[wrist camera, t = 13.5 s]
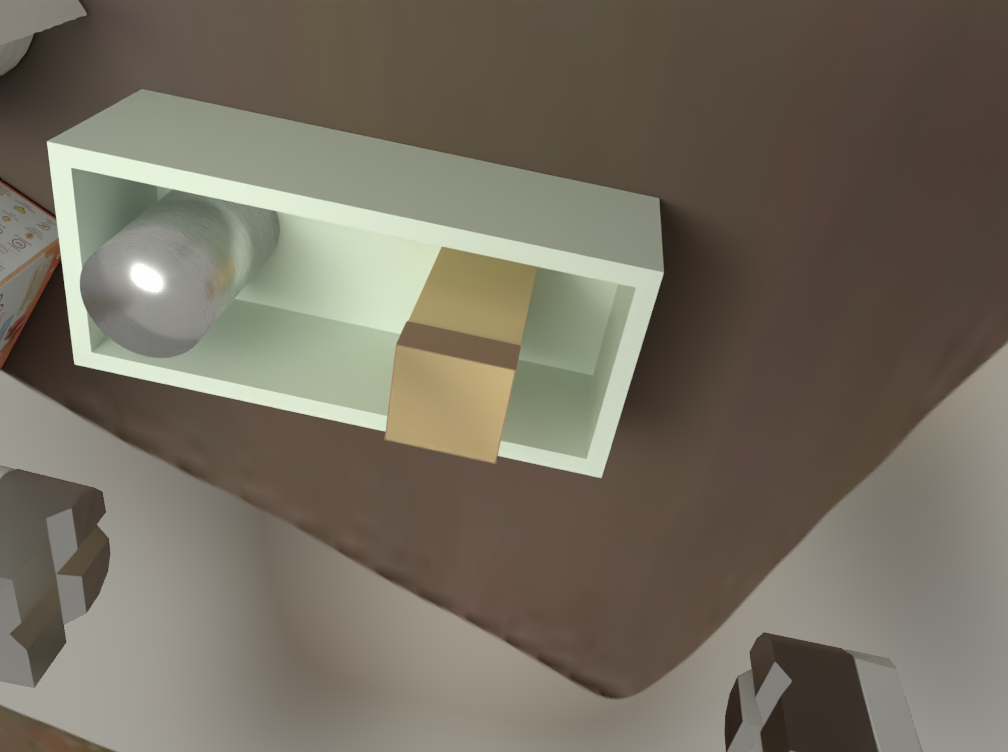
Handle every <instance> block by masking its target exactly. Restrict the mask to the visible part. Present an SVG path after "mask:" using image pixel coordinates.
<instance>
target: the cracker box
mask: <svg viewBox="0 0 1008 752" xmlns="http://www.w3.org/2000/svg"><path fill="white" fill-rule="evenodd" d="M60 259H61V252H60V244H59V236H58V228H57V219H56V218H55V217H54V216H52V215H51V214H49V213H48V212H46V211H45V210H43V209H42V208H41V207H39V206H38V205H36V204H35V203H33V202H32V201H30V200H29V199H27V198H26V197H25V196H23V195H22V194H20V193H18V192H17V191H16V190H14V189H13V188H11V187H10V186H8V185H7V184H5V183H4V182H2V181H1V180H0V370H1V368H2V366H3V364H4V362H5V360H6V359H7V357H8V355H9V353H10V351H11V349H12V348H13V346H14V344H15V342H16V340H17V338H18V337H19V335H20V333H21V331H22V329H23V327H24V325H25V323H26V322H27V320H28V318H29V316H30V314H31V313H32V311H33V309H34V307H35V305H36V303H37V302H38V300H39V298H40V296H41V294H42V292H43V291H44V289H45V287H46V285H47V283H48V281H49V279H50V278H51V276H52V274H53V272H54V270H55V268H56V267H57V265H58V263H59V261H60Z"/></svg>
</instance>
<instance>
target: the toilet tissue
mask: <svg viewBox="0 0 1008 752" xmlns="http://www.w3.org/2000/svg"><path fill="white" fill-rule="evenodd" d="M86 15H87V13H86V11H85V10H84V8H83V6H82V5H81V3H80V2H79V1H78V0H0V76H2V75H4V74H5V73H6V72H8V71H9V70H10V69H12V68H13V67H15V66H16V65H17V64H18V62H19V61H20V60H21V59H22V57H23V56H24V55H25V54H26V52H27V50H28V48H29V45H30V43H31V41H32V38H33V35H34V33H36V32H42V31H43V30H45V29H50V28H51V27H53V26H56V25H61V24H62V23H64V22H67V21H70V20H75V19H76V18H78V17H81V16H86Z"/></svg>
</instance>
